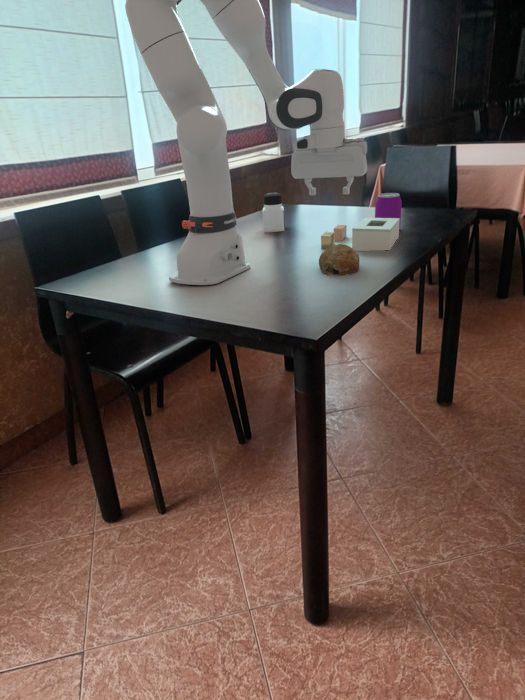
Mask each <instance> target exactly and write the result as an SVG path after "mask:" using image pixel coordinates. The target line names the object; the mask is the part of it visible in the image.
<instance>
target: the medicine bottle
mask: <svg viewBox="0 0 525 700" xmlns="http://www.w3.org/2000/svg"><path fill="white" fill-rule="evenodd" d="M262 198H263V208H262V212H261V213H262V225H263V226H262V227H263V233H265V234H266V233H275V232H285V230H286V227H285V226H286V225H285V209H284V208H285V207H284V206H283V199H282V198H283V197H282V194H281V193H279V192H269V193H266V194H264V195H263V197H262Z"/></svg>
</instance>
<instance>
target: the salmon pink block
mask: <svg viewBox="0 0 525 700" xmlns="http://www.w3.org/2000/svg"><path fill="white" fill-rule="evenodd" d="M333 232H335V242H342V241H344V240H345V239H346V238H347V225H346V224H337V225H336V226H335V227H334V228H333Z"/></svg>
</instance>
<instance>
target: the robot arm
mask: <svg viewBox="0 0 525 700" xmlns="http://www.w3.org/2000/svg"><path fill="white" fill-rule="evenodd" d="M182 1H183V0H125V5H124V7H125V14H126V17H127V20H128V24H129V27H130V31H131V33H132V35H133V38H134V40H135V44H136V46H137V49H138V50H139V52H140V55H141V57H142V59H143V62H144V64H145V65H146V67H147V69H148V71H149V74H150V76H151V78H152V80H153V82H154V85H155V86H156V88H157V91H158V93H159V94H160V96H161V98H162V99H163V101H164V102H165V104H166V105H167V107H168V109H169V111H170V112H171V114H172V117H173V119H174V120H175V122H176V137H177V142H178V149H179V155H180V159H181V165H182V170H183V174H184V179H185V182H186V190H187V196H188V198H187V200H188V205H189V212H190V214H189V217H188V220H186V219H185V220H182V222H181V226H182V227H181V228H183V230H184V229H185V230H188V233H187V236H186V237H185V240H184V241H183V244H182V245H181V247H180V249H179V251H178V253H177V255H176V270H175V271H174V272H173V273H172V274H171V275H169V277H168V280H169V281H170V282H172V283H176V284H179V285H181V284H182V285H192V286H193V285H194V286H195V285H196V286H207V285H215V284H216V285H217V284H219V283H221V282H223V281H226V280H228V279H229V278H232V277H234V276H236V275H239V274H240V273H243V272H245V271H247V270H249V269H251V265H250V263H249V262H247V261H246V256H245V250H244V243H243V238H242V235H241V234H240V233H239V231H238V229H237V227H236V226H237V215H236V211H235V210H234V203H233V191H232V181H231V173H230V165H229V158H228V157H229V156H228V148H227V140H226V139H227V134H228V127H227V123H226V122H227V121H226V120H225V117H224V115H223V113H222V110H221V109H220V106H219V104H218V102H217V99H216V97H215V95H214V93H213V91H212V89H211V87H210V84H209V82H208V80H207V77H206V76H205V73H204V72H203V69H202V67H201V65H200V63H199V60H198V58H197V55H196V53H195V51H194V48H193V45H192V44H191V42H190V40H189V37H188V35H187V32H186V31H185V28H184V26H183V23H182V22H181V19H180V17H179V13H178V9H177V7H178V5H179V4H180V3H181V2H182ZM199 2H201V3H202V4H203V6H204V7H205V9H206V11H207V13H208V14H209V16H210V18H211V19H212V20H213V21H212V22H214V24H215V26H216V28H217V29H218V30H219V32H220V33H221V35H222V37H223V38H224V39H225V40H226V42H227V43H228V44H229V46H230V47H231V48H232V49H233V50H234V52H235V53H236V54H237V55H238V57H239V58H240V59H241V61H242V62H243V64H244V65H245V67H246V69H247V70H248V72H249V74H250V75H251V78H252V79H253V80H254V83H255V84H256V86H257V87H258V88H257V89H259V91H260V93H261V95H262V97H263V101H264V107H265V112H266V113H265V114H266V117H267V120H268V121H269V123H270V125H271V126H272V127H273V128H275V129H277V130H278V131H282V132H285V131H287V132H288V131H290V130H291V131H292V130H300V129H301V128H304V127H305V126H309V135H305V136H303V137H302V138H299V139H297V140H295V141H293V143H292V147H293V150H294V151H293V152H292V155H291V163H290V166H291V167H290V168H291V169H290V170H291V171H290V172H291V176H292V177H293V179H295V180H296V179H300V180H301V179H304V184H305V185H306V187H307V188H308V194H309V196H316V195H317V188H316V187H314V186H313V185H312V183H311V182H312V181H313V179H320V178H321V179H322V178H323V179H325V178H346V182H347V184H346V185H345V186H343V187H342V195H350V191H351V189H350V188H351V185H352V184H353V182H354V180H355V178H354V177H362V176H364V175H366V173H367V171H368V161H367V154H368V143H367V141H366V139H364V138H362V137H355V138H353V137H352V138H351V137H350V138H349V137H348V138H346V137H345V135H346V133H345V132H346V131H345V130H346V129H345V121H344V110H345V95H344V84H343V80H342V77H341V76H342V75H341V74H340V73H339V72H338V71H337V70H334V69H329V68H328V69H327V68H314V69H312V70H310V72H309V73H308V74H307V75H306V76H304V77H303V78H302V79H301V80H300V81H297V82H295V83H294V84H293V85H291V86H288V85H287V84H286V83H285V82H284V80H283V79H282V76H281V75H280V73H279V71H278V69H277V67H276V66H275V63H274V62H273V59H272V58H271V56H270V53H269V51H268V47H267V43H266V17H265V13H264V10H263V8H262V4H261V3H260V0H199Z"/></svg>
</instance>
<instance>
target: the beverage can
mask: <svg viewBox="0 0 525 700" xmlns="http://www.w3.org/2000/svg"><path fill="white" fill-rule="evenodd" d="M374 204H375V205H374V218H400V224H399V230H400V231H401V222H402V221H401V220H402V205H403V204H402V199H401V195H400V193H398V192H384V193H379V194H378V195H377V198H376V199H375V203H374Z"/></svg>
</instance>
